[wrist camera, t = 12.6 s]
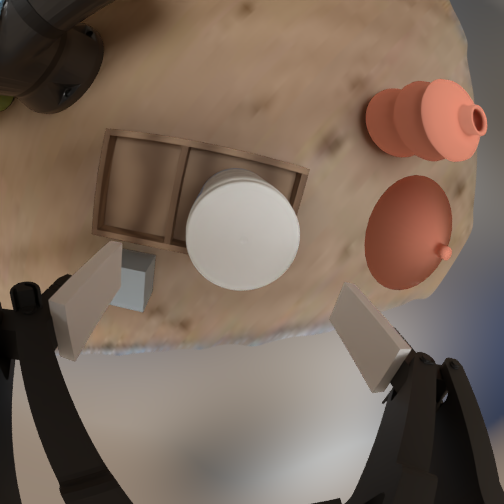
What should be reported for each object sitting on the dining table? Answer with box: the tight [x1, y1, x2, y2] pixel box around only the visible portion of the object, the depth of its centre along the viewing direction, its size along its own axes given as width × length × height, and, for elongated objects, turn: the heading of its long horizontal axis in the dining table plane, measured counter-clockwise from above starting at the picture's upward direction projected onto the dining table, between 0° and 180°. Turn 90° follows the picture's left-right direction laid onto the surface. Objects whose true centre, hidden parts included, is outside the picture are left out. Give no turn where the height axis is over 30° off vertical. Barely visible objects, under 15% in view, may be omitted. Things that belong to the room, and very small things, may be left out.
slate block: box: [110, 248, 156, 312], centre depth 35 cm, size 6×6×6 cm
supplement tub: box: [186, 168, 300, 291], centre depth 28 cm, size 10×10×15 cm
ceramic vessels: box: [365, 79, 487, 290], centre depth 29 cm, size 35×21×19 cm, turn 25°
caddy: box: [92, 129, 310, 254], centre depth 33 cm, size 26×14×3 cm, turn 76°
